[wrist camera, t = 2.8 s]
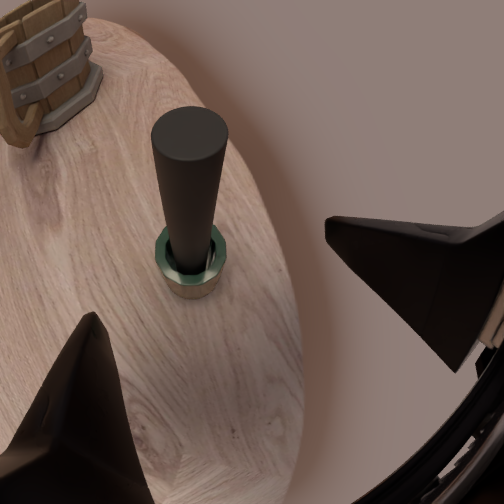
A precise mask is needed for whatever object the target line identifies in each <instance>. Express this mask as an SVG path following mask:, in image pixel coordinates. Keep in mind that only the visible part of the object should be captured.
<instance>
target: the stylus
mask: <svg viewBox="0 0 504 504" xmlns="http://www.w3.org/2000/svg"><path fill="white" fill-rule="evenodd" d="M227 140H228V128H227V125H226V123H225V121H224V120H223V119H222V118H221V117H220V116H219V115H218V114H216V113H215V112H213V111H211V110H209V109H206V108H202V107H195V106H187V107H181V108H177V109H174V110H171V111H169V112H167V113H165V114H164V115H163V116H161V117H160V118H159V119H158V120H157V121H156V123H155V124H154V126H153V129H152V132H151V142H152V149H153V155H154V161H155V167H156V173H157V179H158V184H159V190H160V195H161V200H162V205H163V210H164V215H165V220H166V225H167V229H168V234H169V238H170V243H171V247H172V251H173V256H174V260H175V264H176V268H177V271H178V272H179V273H181V274H183V275H198V274H200V273H202V272H203V271H205V270H206V265H207V258H208V251H209V244H210V238H211V231H212V225H213V219H214V212H215V206H216V200H217V195H218V189H219V183H220V177H221V172H222V166H223V161H224V156H225V151H226V145H227Z"/></svg>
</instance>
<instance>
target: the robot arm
mask: <svg viewBox="0 0 504 504" xmlns="http://www.w3.org/2000/svg"><path fill="white" fill-rule="evenodd" d="M325 239H326V242H327V243H328V245H329V246H330V247H331V248H332V249H333V250H334V251H335V252H336V254H337V255H338V256H339V257H340V258H341V259H342V260H343V261H344V262H345V263H346V265H347V266H348V267H349V268H350V269H351V270H352V271H353V272H354V273H355V274H357V275H358V276H359V277H360V278H361V279H362V280H363V281H364V282H365V283H366V284H367V285H368V286H369V287H370V288H371V289H372V290H373V291H375V292H376V293H377V294H378V295H379V296H380V297H381V298H382V299H383V300H384V301H385V302H386V303H387V304H388V305H389V306H390V307H391V308H392V309H393V310H394V311H395V312H396V313H397V314H398V315H399V316H400V317H401V318H402V319H403V320H404V321H405V322H406V323H407V324H408V325H409V326H410V327H411V328H412V329H413V330H414V331H415V332H416V333H417V334H418V335H419V336H421V338H422V339H423V340H424V341H425V342H426V343H427V344H428V346H429V347H430V348H431V349H432V350H433V351H434V352H435V353H436V354H437V355H438V356H439V357H440V358H441V359H442V360H443V361H444V363H445V364H446V365H447V366H448V367H449V368H450V369H451V370H452V371H453V372H454V373H456V372H457V371H458V370H459V369H460V367H461V366H462V365H463V363H464V362H465V361H466V360H467V358H468V357H469V356H470V354H471V353H472V351H473V350H474V349H475V347H476V346H477V345H478V343H479V342H481V343H483V344H484V345H485V346H486V347H485V349H484V350H483V352H482V353H481V355H480V356H479V358H478V360H477V361H476V363H475V366H476V370H477V376H478V381H477V382H476V383H475V385H474V386H473V388H472V389H471V390H470V392H469V393H468V394H467V396H466V397H465V398H464V399H463V401H462V402H461V403H460V405H459V406H458V407H457V408H456V410H455V411H454V412H453V413H452V414H451V416H450V417H449V418H448V419H447V420H446V421H445V422H444V424H443V425H442V426H441V427H440V428H439V429H438V430H437V431H436V432H435V434H434V435H433V436H432V437H431V438H430V439H429V440H428V441H427V442H426V443H425V444H424V445H423V446H422V447H421V448H420V449H419V450H418V451H417V452H416V453H415V454H414V455H412V456H411V457H410V458H409V459H408V460H407V461H406V462H405V463H404V464H402V465H401V466H400V467H399V468H398V469H397V470H396V471H394V472H393V473H392V474H391V475H389V476H388V477H387V478H386V479H385V480H383V481H382V482H381V483H379V484H378V485H377V486H376V487H374V488H373V489H371V490H370V491H369V492H367V493H366V494H365V495H363V496H362V497H360V498H359V499H357V500H356V501H355V502H353V503H351V504H504V211H503V212H501V213H500V214H498V215H496V216H495V217H493V218H492V219H490V220H488V221H487V222H485V223H483V224H482V225H479V226H476V227H457V226H442V225H432V224H421V223H411V222H402V221H391V220H381V219H368V218H357V217H344V216H333V217H330V218H327V219H326V220H325ZM42 386H43V387H42ZM42 386H41V387H40V389H39V391H38V393H37V395H36V397H35V399H34V401H33V403H32V404H31V406H30V408H29V410H28V412H27V413H26V415H25V417H24V419H23V421H22V422H21V424H20V426H19V428H18V429H17V431H16V433H15V435H14V437H13V439H12V441H11V443H10V444H9V446H8V448H7V449H6V450H5V451H4V452H3V453H2V454H1V455H0V504H155V503H154V501H153V498H152V495H151V493H150V490H149V488H148V485H147V482H146V480H145V477H144V474H143V471H142V468H141V465H140V462H139V459H138V455H137V452H136V449H135V445H134V441H133V438H132V434H131V430H130V426H129V422H128V418H127V414H126V409H125V405H124V400H123V395H122V390H121V385H120V379H119V374H118V369H117V366H116V362H115V358H114V354H113V351H112V347H111V343H110V338H109V334H108V332H107V330H106V328H105V326H104V325H103V323H102V322H101V320H100V318H99V317H98V315H97V314H96V313H95V312H90V313H88V314H85V315H84V316H83V317H82V319H81V320H80V322H79V323H78V325H77V326H76V328H75V330H74V331H73V333H72V334H71V336H70V337H69V339H68V341H67V342H66V344H65V345H64V347H63V349H62V350H61V352H60V354H59V355H58V357H57V359H56V361H55V362H54V364H53V366H52V368H51V369H50V371H49V373H48V375H47V376H46V378H45V380H44V382H43V384H42ZM471 436H473V437H474V438H475V440H474V442H472V443H471V444H470V446H469V447H468V448H469V451H468V452H467V453H466V454H464V455H463V456H462V457H461V458H460V459H458V460H457V462H456V463H455V464H454V465H455V466H456V467H455V468H454V469H453V470H451V471H450V472H449V473H447V474H446V475H445V476H443V477H442V478H441V479H440V478H439V477H438V476H437V475H438V474H439V473H440V472H441V471H442V470H443V469H444V468H445V467H446V466H447V465H448V463H449V462H450V461H451V460H452V459H453V458H454V457H455V455H456V454H457V453H458V452H459V451H460V449H461V448H462V447H463V446H464V445H465V443H466V442H467V441H468V439H469V438H470V437H471Z"/></svg>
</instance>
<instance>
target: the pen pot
mask: <svg viewBox="0 0 504 504" xmlns="http://www.w3.org/2000/svg"><path fill="white" fill-rule="evenodd" d="M226 258H227V257H226V242H225V239H224V238H223V236H222V235H221V233H220V232H219V230H218V229H217V227H216V226H215V225H212V231H211V238H210V244H209V251H208V258H207V265H206V270H205V271H203V272H202V273H200V274H198V275H183V274H181V273H179V272H178V271H177V268H176V264H175V260H174V256H173V251H172V247H171V243H170V238H169V234H168V229H167V226H166V227H165V228H164V229H163V231H162V233H161V234H160V236H159V237H158V239H157V240H156V245H155V260H156V263H157V265H158V267H159V269H160V271H161V274H162V276H163V278H164V280H165V281H166V283H167V285H168V287H169V288H170V290H171V291H172V292H174V293H175V294H176V295H178V296H179V297H182V298H185V299H199V298H202V297H204V296H206V295H208V294H209V293H210V292H211V291H213V289H214V288H215V286H216V284H217V282H218V280H219V278H220V275H221V273H222V270H223V267H224V264H225V262H226Z"/></svg>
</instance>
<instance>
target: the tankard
mask: <svg viewBox="0 0 504 504" xmlns="http://www.w3.org/2000/svg"><path fill="white" fill-rule="evenodd" d="M86 19H87V11H86V3H84V2H79V0H32V1H31V0H29V1H27V2H25V3H24V4H22V5H20V6H18V7H17V8H15V9H14V10H12V11H10V12H9V13H7V14H6V15H4V16H3V17H2V18H0V134H1V135H2V137H3V138H4V139H5V141H6V142H7V144H8V145H12V146H15V147H18V148H26V147H29V146H30V144H31V142H32V140H33V138H34V136H35V135H36V134H40V133H43V132H47V131H51V130H55V129H58V128H59V127H60V126H61V125H63V124H64V123H65V122H66V121H67V120H69V119H70V118H71V117H72V116H74V115H75V114H76V113H78V112H79V111H80V110H82V109H83V108H84V107H86V106H87V105H88V104H90V103H91V102H92V101H93V100H94V98H95V95H96V92H97V90H98V87H99V84H100V82H101V79H102V77H103V70H102V67H101V66H99V65H97V64H95V63H93V62H90V61H89V59H88V58H89V57H90V55H91V53H92V51H93V50H92V45H91V39H90V37H88V36H85V35H84V33H83V27H82V24H83V22H84V21H85V20H86Z"/></svg>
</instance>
